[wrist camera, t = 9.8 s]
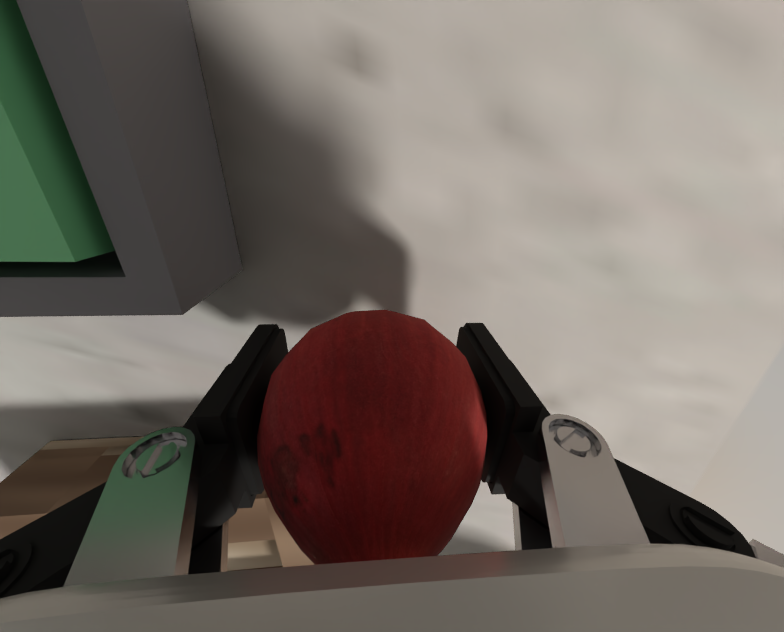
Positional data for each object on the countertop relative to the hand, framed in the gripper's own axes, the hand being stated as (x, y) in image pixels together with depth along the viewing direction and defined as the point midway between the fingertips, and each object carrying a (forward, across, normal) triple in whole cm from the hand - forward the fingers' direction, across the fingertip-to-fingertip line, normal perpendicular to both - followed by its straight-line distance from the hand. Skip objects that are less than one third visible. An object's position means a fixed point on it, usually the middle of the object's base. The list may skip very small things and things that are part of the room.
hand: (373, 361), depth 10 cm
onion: (+1, 0, 0) cm, 1 cm away
